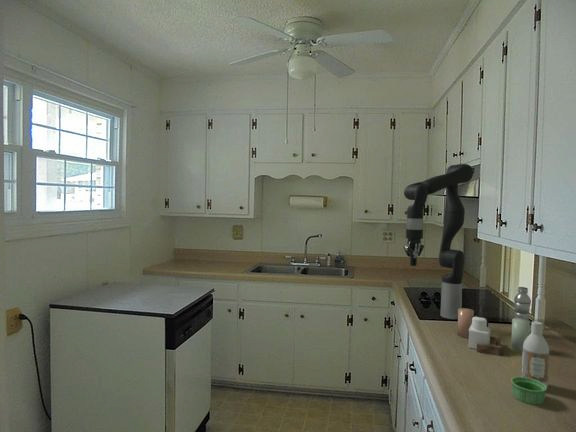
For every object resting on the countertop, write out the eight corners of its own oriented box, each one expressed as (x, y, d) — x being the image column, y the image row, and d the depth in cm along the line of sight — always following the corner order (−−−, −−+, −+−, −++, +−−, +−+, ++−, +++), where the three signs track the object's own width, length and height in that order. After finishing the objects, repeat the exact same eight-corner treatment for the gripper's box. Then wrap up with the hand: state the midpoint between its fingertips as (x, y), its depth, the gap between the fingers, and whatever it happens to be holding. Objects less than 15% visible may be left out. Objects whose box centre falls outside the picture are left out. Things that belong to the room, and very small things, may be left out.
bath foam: (523, 388, 121) (526, 324, 120) (519, 378, 128) (522, 318, 127) (549, 392, 119) (553, 327, 118) (544, 382, 125) (547, 320, 124)
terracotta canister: (462, 332, 172) (462, 307, 171) (475, 336, 167) (476, 310, 166) (454, 335, 168) (455, 309, 168) (468, 339, 163) (469, 312, 163)
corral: (476, 351, 150) (477, 344, 150) (474, 340, 162) (474, 333, 162) (502, 355, 146) (502, 347, 146) (498, 343, 159) (498, 336, 158)
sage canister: (514, 344, 158) (516, 317, 158) (531, 348, 154) (532, 321, 153) (508, 347, 155) (509, 319, 154) (524, 352, 150) (526, 323, 150)
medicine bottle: (470, 342, 160) (471, 313, 159) (489, 345, 156) (491, 316, 156) (467, 347, 154) (468, 317, 153) (488, 351, 150) (489, 320, 150)
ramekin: (513, 402, 113) (513, 387, 113) (508, 388, 121) (508, 374, 121) (549, 408, 110) (550, 393, 110) (541, 394, 118) (542, 379, 118)
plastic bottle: (514, 334, 169) (516, 288, 168) (511, 329, 176) (513, 285, 175) (531, 336, 167) (533, 290, 166) (527, 331, 174) (529, 287, 173)
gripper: (413, 229, 173) (411, 268, 174) (430, 228, 182) (428, 265, 182) (398, 228, 179) (397, 265, 180) (415, 227, 187) (414, 263, 188)
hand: (413, 265), depth 181 cm, fingers closed
